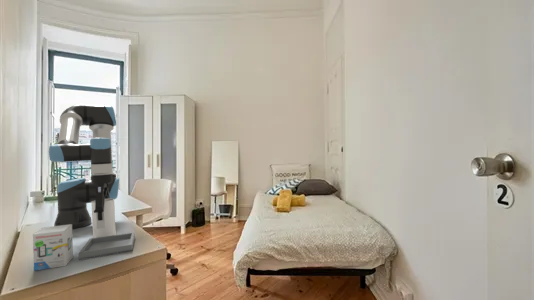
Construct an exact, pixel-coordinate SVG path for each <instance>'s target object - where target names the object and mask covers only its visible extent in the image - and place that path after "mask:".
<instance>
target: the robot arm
mask: <svg viewBox="0 0 534 300" xmlns="http://www.w3.org/2000/svg"><path fill="white" fill-rule="evenodd" d="M59 124H60V128H59V133H58V134H59V135H58V138H57V143H56V144H50V145H49V146H48V158H49V160H50V161H51V162H52V163H65V162H86V161H88V162H89V161H90V167H89V170H90V172H91V174H92V175H91V176H90V179H89V180H87V179H86V177H81V178H74V179H69V180H65V181H61V182H59V183H58V184H57V186H56V187H57V188H56V190H57V191H56V195H57V197H56V198H57V215H56V218H55V221H54V222H53V223H54V224H53V226H61V225H69V224H72V230H73V229H79V228H84V227H86V226H88V225H91V224H92V216H91V214H90V213H89V211H88V206H87V205H88V204H89V203H90V204H92V201H94V200H96V203H95V210H94V213H96V218H97V229H99V228H105V212H104V202H105V199H108V198H112V199H114V201H115V200H116V199H117V198H118V195H119V185H120V177H117V175H116V173H115V172H113V171H114V170H113V150H112V136H111V135H112V131H113V130H114V129H115V128H114V127H116V126H117V119H116V113H115V109H114V107H113V106H111V105H105V104H84V103H79V104H74V105H71V106H69V107H68V108H66V109H64V110H63V112H62V113H61V115H60V117H59ZM82 126H88V128H89V130H90V131H91V132H92V138H90V141H89V143H79V139H80V130H81V127H82Z"/></svg>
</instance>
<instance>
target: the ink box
mask: <svg viewBox="0 0 534 300" xmlns="http://www.w3.org/2000/svg"><path fill="white" fill-rule="evenodd" d="M32 241H33V242H32V245H33V247H32V249H33V271H42V270H47V269H53V268H58V267H60V268H61V267H65V266H68V264H69V263H70V262H71V260H72V258H73V257H74V249H73V248H74V247H73V245H74V244H73V229H72V224H69V225H61V226H54V225H53V226H47V227H45V226H44V227H42V228H40V229H39V230H38V231H36V232H34V234H32Z"/></svg>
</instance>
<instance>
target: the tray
mask: <svg viewBox="0 0 534 300" xmlns="http://www.w3.org/2000/svg"><path fill="white" fill-rule="evenodd" d="M135 239H136V232H135V231H132V232H126V233H120V234H119V233H118V234H116V235H111V236H104V237H97V238H93V237H92V238H91V237H90V238H89V239H88V240H87V241H86V243H85V244H84V245H83V247H82V248H81V250H79V252H78V260H79V261H83V260H88V259H93V258H99V256H100V257H105V256H110V255H116V254H122V253H123V254H125V253H128V252H133V249H134V244H135Z"/></svg>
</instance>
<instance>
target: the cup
mask: <svg viewBox="0 0 534 300" xmlns="http://www.w3.org/2000/svg"><path fill="white" fill-rule="evenodd" d="M95 203H96V200H94V201H92V203H91V224H92V238H97V237H104V236H111V235H117V234H116V233H117V232H116V210H115V206H116V205H115V200H114V199H112V198H108V199H105V202H104V212H105V228H99V229H97V218H96V213H94V210H95Z"/></svg>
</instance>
